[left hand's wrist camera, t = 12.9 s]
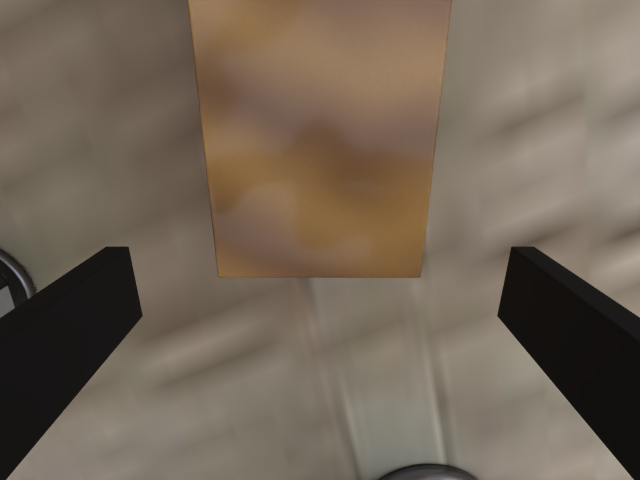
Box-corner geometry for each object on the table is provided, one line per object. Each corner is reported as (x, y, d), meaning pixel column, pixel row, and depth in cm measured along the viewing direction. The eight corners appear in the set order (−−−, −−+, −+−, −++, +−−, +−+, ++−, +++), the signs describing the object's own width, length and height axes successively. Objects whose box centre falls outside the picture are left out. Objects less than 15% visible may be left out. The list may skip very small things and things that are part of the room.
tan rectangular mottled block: (236, -24, 24) (173, -120, 14) (403, -24, 24) (465, -119, 14) (252, 217, 30) (217, 278, 20) (386, 217, 30) (421, 278, 20)
